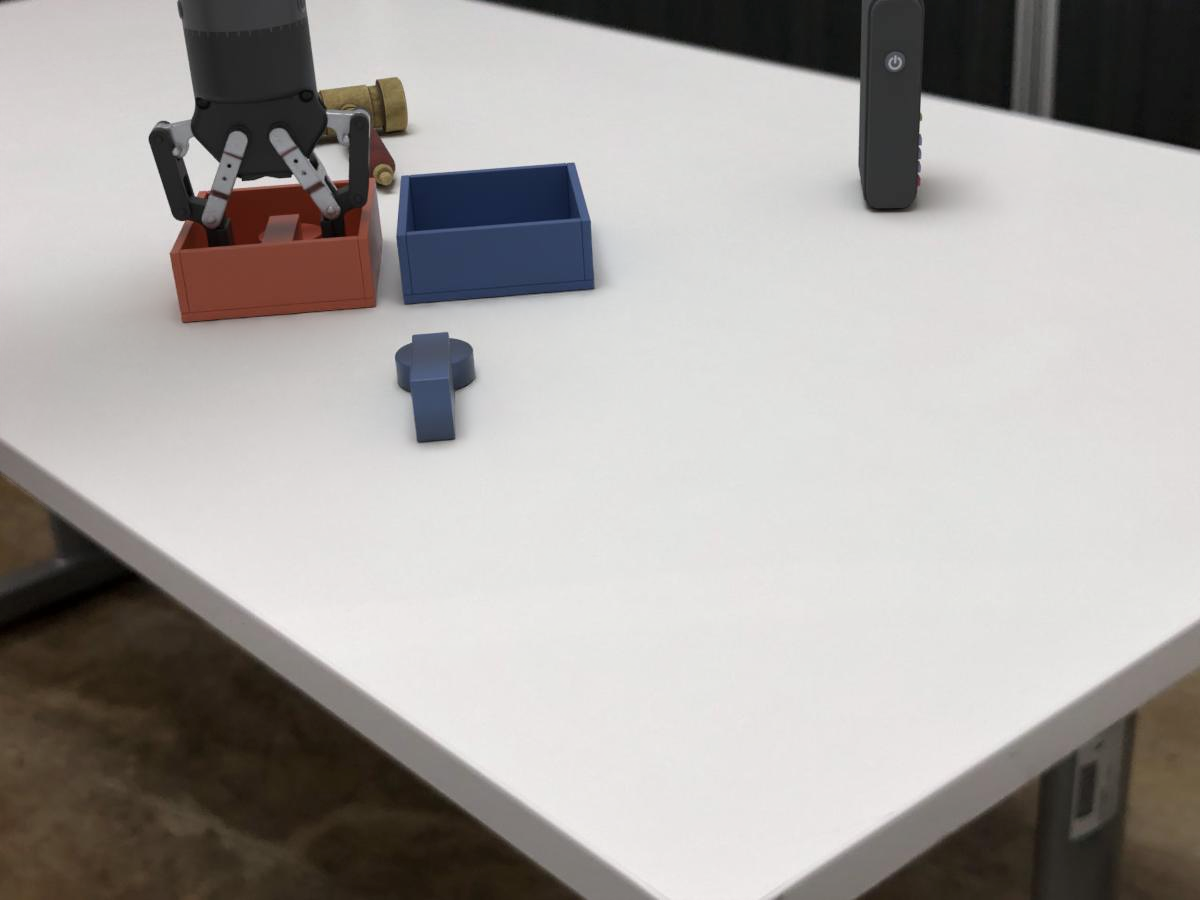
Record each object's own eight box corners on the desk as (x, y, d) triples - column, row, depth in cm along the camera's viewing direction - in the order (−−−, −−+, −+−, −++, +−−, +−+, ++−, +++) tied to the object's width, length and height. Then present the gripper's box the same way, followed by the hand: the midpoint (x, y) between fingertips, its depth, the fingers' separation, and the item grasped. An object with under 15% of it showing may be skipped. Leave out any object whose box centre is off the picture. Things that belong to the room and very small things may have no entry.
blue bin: (404, 304, 100) (396, 235, 98) (407, 238, 112) (400, 175, 110) (594, 288, 100) (590, 219, 98) (578, 224, 112) (574, 162, 110)
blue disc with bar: (478, 437, 82) (472, 375, 80) (393, 444, 82) (386, 383, 80) (474, 359, 91) (469, 303, 90) (398, 366, 91) (391, 309, 89)
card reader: (921, 212, 111) (930, -5, 104) (863, 214, 111) (868, -3, 104) (911, 174, 119) (918, -29, 112) (857, 176, 119) (861, -27, 112)
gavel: (448, 143, 121) (319, 161, 119) (452, 199, 123) (326, 217, 121) (394, 70, 138) (281, 84, 136) (399, 120, 141) (288, 135, 138)
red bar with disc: (318, 295, 100) (310, 242, 99) (248, 300, 100) (240, 248, 99) (328, 242, 110) (321, 194, 108) (264, 247, 109) (257, 199, 108)
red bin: (182, 322, 99) (169, 253, 97) (209, 254, 111) (198, 191, 109) (375, 306, 100) (367, 237, 98) (382, 240, 111) (375, 177, 109)
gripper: (365, -5, 99) (393, 247, 107) (135, 10, 98) (180, 263, 106) (360, 17, 93) (390, 285, 100) (113, 34, 92) (162, 303, 99)
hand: (282, 273), depth 103 cm, fingers open, 6 cm apart
